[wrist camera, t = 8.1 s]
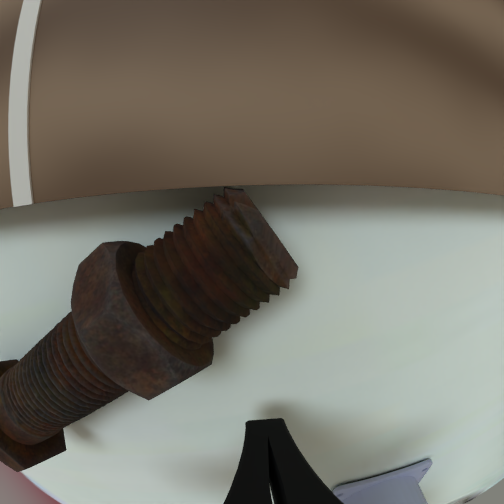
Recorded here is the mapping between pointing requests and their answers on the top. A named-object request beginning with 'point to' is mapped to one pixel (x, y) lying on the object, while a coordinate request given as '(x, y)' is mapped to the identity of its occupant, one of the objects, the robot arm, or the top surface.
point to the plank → (248, 95)
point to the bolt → (140, 322)
